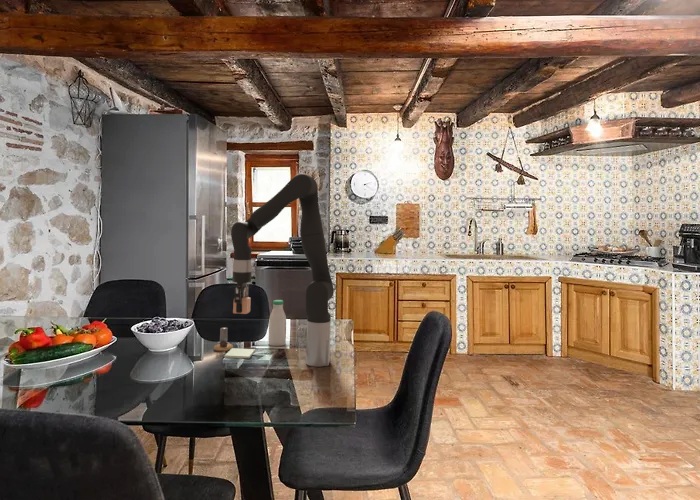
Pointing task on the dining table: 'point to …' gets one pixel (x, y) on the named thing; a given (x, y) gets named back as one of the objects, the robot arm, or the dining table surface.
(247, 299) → the salmon orange cube
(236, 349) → the pad
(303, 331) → the dining table surface
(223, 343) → the post
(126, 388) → the dining table surface
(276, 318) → the milk bottle
